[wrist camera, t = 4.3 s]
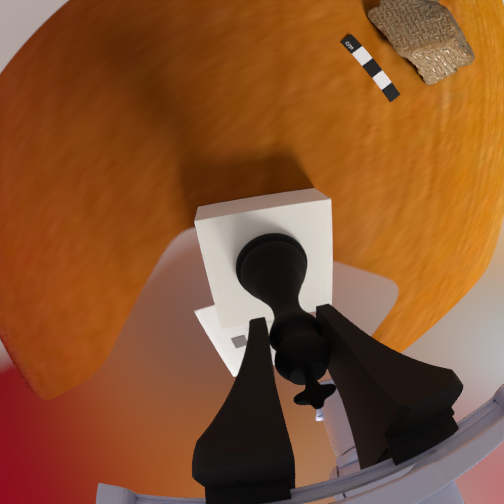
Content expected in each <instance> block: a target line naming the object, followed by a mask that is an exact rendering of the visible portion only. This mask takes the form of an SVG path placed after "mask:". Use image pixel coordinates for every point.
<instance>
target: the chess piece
mask: <svg viewBox="0 0 504 504" xmlns="http://www.w3.org/2000/svg"><path fill="white" fill-rule="evenodd" d="M307 265H308V262H307V256H306V253H305V250H304V249H303V247H302V246H301V244H300V243H299V242H298V241H297V240H295V239H294V238H292V237H290V236H288V235H285V234H281V233H268V234H263V235H260V236H258V237H256V238H254V239H252V240H251V241H249V242H248V243H247V244H246V245H245V246H244V247H243V249H242V250H241V251H240V253H239V255H238V257H237V261H236V275H237V278H238V281H239V283H240V284H241V286H242V287H243V288H244V289H245V290H246V291H247V292H249V293H250V294H251V295H252V296H253V297H255V298H257V299H259V300H261V301H262V302H263V303H265V304H267V305H268V306H269V307H270V308H271V309H272V311H273V314H274V321H273V324H272V326H271V329H270V333H269V340H270V345H271V347H272V348H273V349H274V350H275V351H276V353H275V359H274V363H275V367H276V369H277V371H278V373H279V374H280V375H281V376H283V378H285V379H287V380H289V381H291V382H292V383H294V384H297V385H306V387H305V390H304V391H303V392H301V393H299V394H297V395H296V396H295V397H294V402H295V403H296V404H298V405H311V406H313V407H314V408H315V409H321V408H322V407H323V406H324V401H325V399H327V398H328V397H330V396H331V395H332V394H333V393H334V392H335V391H336V386H335V385H334V384H331V383H330V384H320V383H318V381H317V380H319V379H320V378H321V377H322V376H324V374H325V373H326V370H327V368H328V366H329V364H330V360H331V349H330V346H329V344H328V342H327V341H326V340H325V339H324V338H323V337H321V325H320V323H319V321H318V320H317V319H316V318H315V317H314V316H312V315H311V314H309V313H308V312H306V311H304V310H303V309H302V308H301V306H300V304H299V299H298V297H299V293H300V290H301V286H302V284H303V282H304V279H305V276H306V271H307Z"/></svg>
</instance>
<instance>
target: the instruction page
mask: <svg viewBox="0 0 504 504" xmlns="http://www.w3.org/2000/svg"><path fill="white" fill-rule="evenodd" d="M194 312H195V314H196V316H197V318H198V319H199V321H200V323H201V325H202V326H203V328H204V330H205V331H206V333H207V335H208V336H209V338H210V340H211V341H212V343H213V345H214V346H215V348H216V350H217V351H218V353H219V355H220V356H221V358H222V359H223V361H224V362H225V364H226V366H227V367H228V369H229V370H230V372H231V374H232V375H233V376H237V375H238V372H239V369H240V366H241V363H242V360H243V357H244V353H245V349H246V345H247V340H248V333H249V325H243V326H237V327H231V328H224V329H221V325H220V322H219V318H218V315H217V311H216V307H215V304H212V305H209V306H206V307H203V308H199V309H196V310H194ZM273 321H274V320H271V321H266V323H267V327H268V333H270V329H271V326H272V324H273ZM270 347H271V345H270ZM275 353H276V351H275V350H274V349H273V348H272V347H271V354H272V361H273V365H275V363H274V359H275Z"/></svg>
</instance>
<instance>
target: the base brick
mask: <svg viewBox="0 0 504 504" xmlns="http://www.w3.org/2000/svg"><path fill="white" fill-rule="evenodd" d="M194 223H195V227H196V231H197V236H198V240H199V245H200V249H201V253H202V257H203V261H204V265H205V269H206V273H207V277H208V281H209V284H210V289H211V292H212V296H213V300H214V304H215V307H216V311H217V315H218V318H219V322H220V325H221V329H224V328H231V327H237V326H243V325H249V321H250V320H251V319H255V318H260V317H265V320H266V321H271V320H274V314H273V311H272V309H271V308H270V307H269V306H268V305H267V304H265V303H263V302H262V301H261V300H259V299H257V298H255V297H253V296H252V295H251V294H250V293H249V292H247V291H246V290H245V289H244V288H243V287H242V286H241V284H240V283H239V281H238V278H237V275H236V261H237V257H238V255H239V253H240V251H241V250H242V249H243V247H244V246H245V245H246V244H247V243H248V242H249V241H251V240H252V239H254V238H256V237H258V236H260V235H263V234H268V233H281V234H285V235H288V236H290V237H292V238H294V239H295V240H297V241H298V242H299V243H300V244H301V246H302V247H303V249H304V250H305V253H306V256H307V262H308V265H307V271H306V276H305V279H304V282H303V284H302V286H301V290H300V293H299V297H298V299H299V304H300V306H301V308H302V309H303V310H304V311H306V312H308V313H310V312H315V311H316V306H320V305H324V304H328V303H329V304H330V305H331V306H332V269H333V254H332V211H331V199H330V198H329V197H327V196H326V195H324V194H323V193H321V192H320V191H318V190H317V189H316V188H311V189H304V190H296V191H289V192H282V193H276V194H269V195H263V196H256V197H250V198H244V199H238V200H232V201H227V202H221V203H215V204H210V205H205V206H199V207H198V209H197V213H196V216H195V220H194Z"/></svg>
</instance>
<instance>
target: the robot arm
mask: <svg viewBox="0 0 504 504" xmlns="http://www.w3.org/2000/svg"><path fill="white" fill-rule="evenodd" d="M316 319H317V320H318V321H319V323H320V325H321V337H323V338H324V339H325V340H326V341H327V342H328V344H329V346H330V349H331V360H330V364H329V366H328V368H327V369H328V371H329V373H330V375H331V377H332V379H329V380H325V381H321V382H319V383H320V384H330V383H331V384H334V385H335V386H336V391H335V392H334V393H333V394H332V395H331V396H330V397H328V398H327V399H325V401H324V406H323V407H322V408H321V409H316V415H315V419H316V421H320V420H324V423H325V426H326V429H327V433H328V436H329V439H330V442H331V445H332V448H333V451H334V453H335V455H336V456H337V457H338V458H336V459H335V460H336V463H337V465H336V466H334V467H332V470H331V472H330V474H329V480H328V481H324V482H320V483H316V484H312V485H308V486H304V487H299V488H295V461H294V455H293V450H292V446H291V442H290V439H289V435H288V431H287V428H286V424H285V420H284V416H283V412H282V408H281V404H280V400H279V397H278V392H277V388H276V384H275V378H274V369H273V361H272V354H271V347H270V340H269V333H268V327H267V323H266V320H265V317H260V318H255V319H251V320H250V321H249V333H248V340H247V345H246V349H245V353H244V357H243V360H242V363H241V366H240V369H239V372H238V375H237V377H236V380H235V382H234V384H233V386H232V389H231V391H230V393H229V395H228V397H227V398H226V400H225V402H224V404H223V406H222V407H221V409H220V410H219V412H218V414H217V415H216V417H215V418H214V420H213V421H212V423H211V424H210V425H209V427H208V428H207V429H206V430H205V432H204V433H203V434H202V436H201V437H200V438H199V439H198V441H197V443H196V446H195V449H194V454H193V460H192V477H193V478H194V479H195V480H196V481H197V482H198V483H200V484H201V485H202V486H204V487H205V498H179V497H163V496H153V495H143V494H136V493H134V492H133V491H131V490H129V489H126V488H123V487H118V486H113V485H107V484H103V483H99V484H98V490H97V499H96V504H303V503H308V502H312V501H316V500H320V499H324V498H328V497H331V496H334V498H335V500H336V502H333V503H330V504H465V503H464V501H463V498H462V496H461V494H460V492H459V490H458V487H457V485H456V483H455V481H454V480H455V479H457V478H458V477H460V476H461V475H463V474H464V473H465V472H467V471H468V470H469V469H471V468H472V467H473V466H475V465H476V464H477V463H478V462H480V461H481V460H482V459H483V458H485V457H486V456H487V455H488V454H489V453H491V452H492V451H493V450H494V449H495V448H496V447H497V446H499V445H500V444H501V443H502V442H503V441H504V384H503V385H502V386H501V387H500V388H499V389H498V390H497V391H496V393H495V394H494V396H493V397H492V398H491V399H490V400H488V401H487V402H486V403H484V404H483V405H482V406H480V407H479V408H478V409H476V410H475V411H473V412H472V413H471V414H469V415H468V416H466V417H465V418H463V419H462V420H460V421H459V422H457V423H456V422H455V420H454V418H453V417H452V416H453V415H454V411H453V409H452V408H451V407H452V405H453V404H454V403H455V401H456V400H457V398H458V397H459V396H460V394H461V392H462V390H463V384H462V383H461V381H460V380H459V378H458V377H457V375H456V374H455V373H454V372H453V370H451V369H446V368H442V367H437V366H433V365H430V364H427V363H424V362H421V361H418V360H415V359H412V358H410V357H408V356H405V355H403V354H401V353H399V352H397V351H394V350H393V349H391V348H389V347H387V346H385V345H383V344H382V343H380V342H378V341H377V340H375V339H374V338H372V337H371V336H369V335H368V334H366V333H365V332H364V331H362V330H360V329H359V328H358V327H357V326H356V325H354V324H353V323H352V322H350V321H349V320H348V319H347V318H346V317H344V316H343V315H342V314H341V313H340V312H338V311H337V310H336V309H335V308H334V307H332V306H331V305H330V304H329V303H328V304H324V305H320V306H316Z"/></svg>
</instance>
